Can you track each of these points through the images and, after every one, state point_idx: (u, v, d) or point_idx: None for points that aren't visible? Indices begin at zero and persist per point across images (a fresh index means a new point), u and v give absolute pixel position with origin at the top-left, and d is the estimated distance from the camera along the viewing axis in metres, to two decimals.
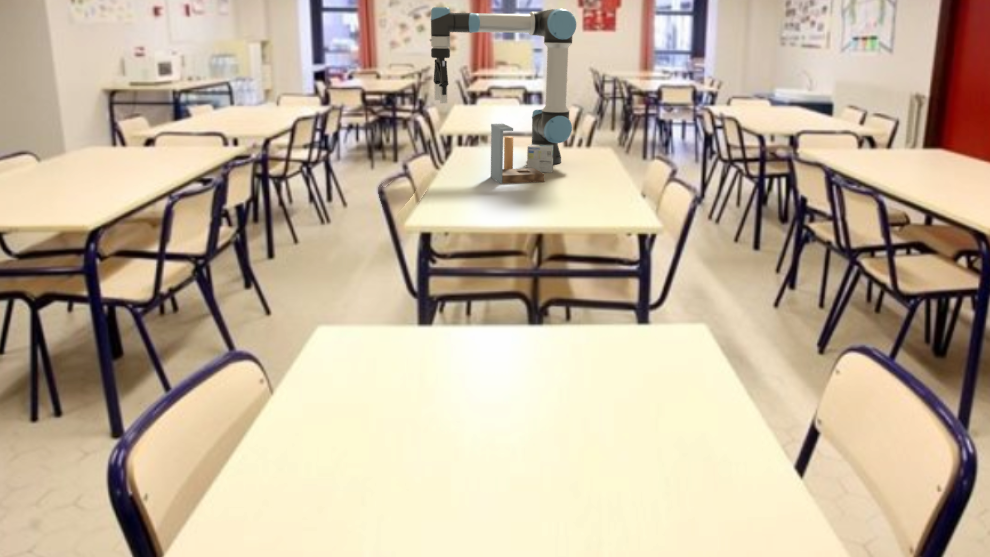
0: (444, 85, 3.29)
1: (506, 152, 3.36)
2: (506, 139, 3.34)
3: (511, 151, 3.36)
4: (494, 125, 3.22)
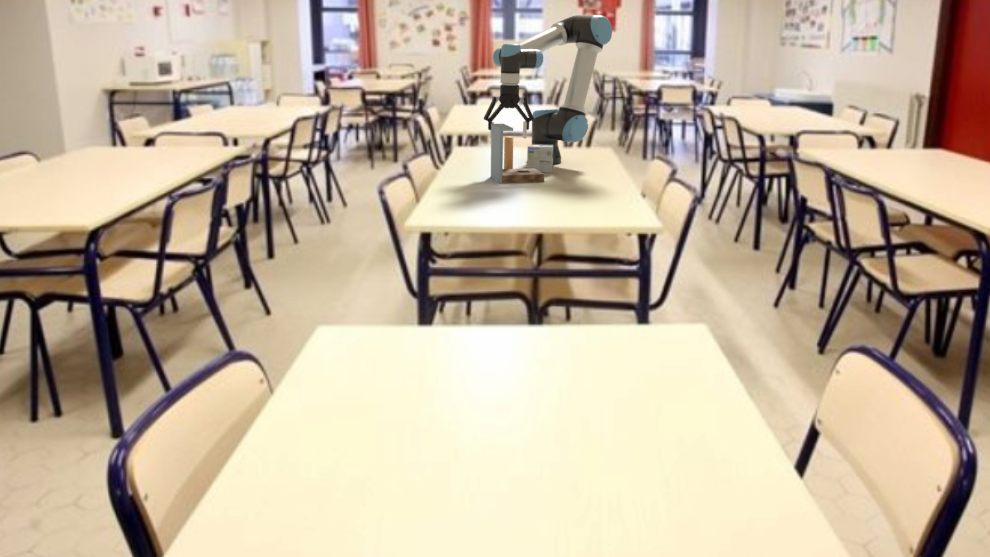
0: (486, 120, 3.31)
1: (506, 152, 3.36)
2: (506, 139, 3.34)
3: (511, 151, 3.36)
4: (494, 125, 3.22)
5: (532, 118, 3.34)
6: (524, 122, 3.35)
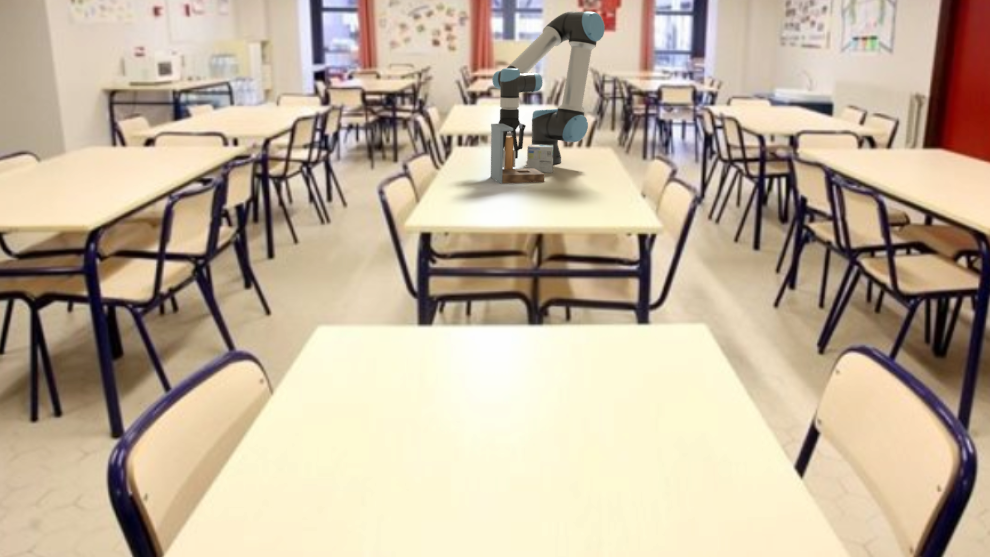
0: None
1: (506, 152, 3.36)
2: (506, 139, 3.34)
3: (511, 151, 3.36)
4: (494, 125, 3.22)
5: (521, 147, 3.37)
6: (513, 151, 3.37)
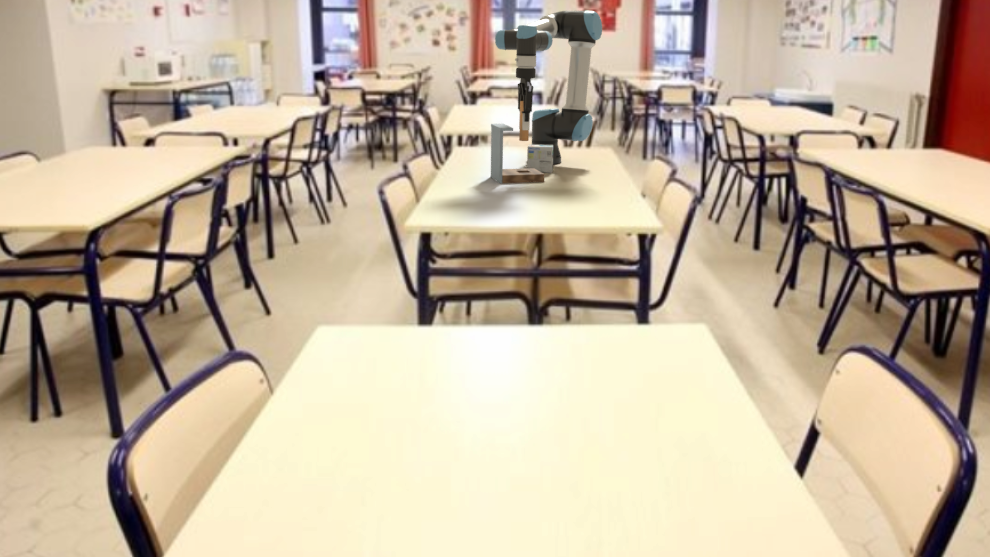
0: (527, 112, 3.17)
1: None
2: None
3: None
4: (494, 125, 3.22)
5: None
6: None
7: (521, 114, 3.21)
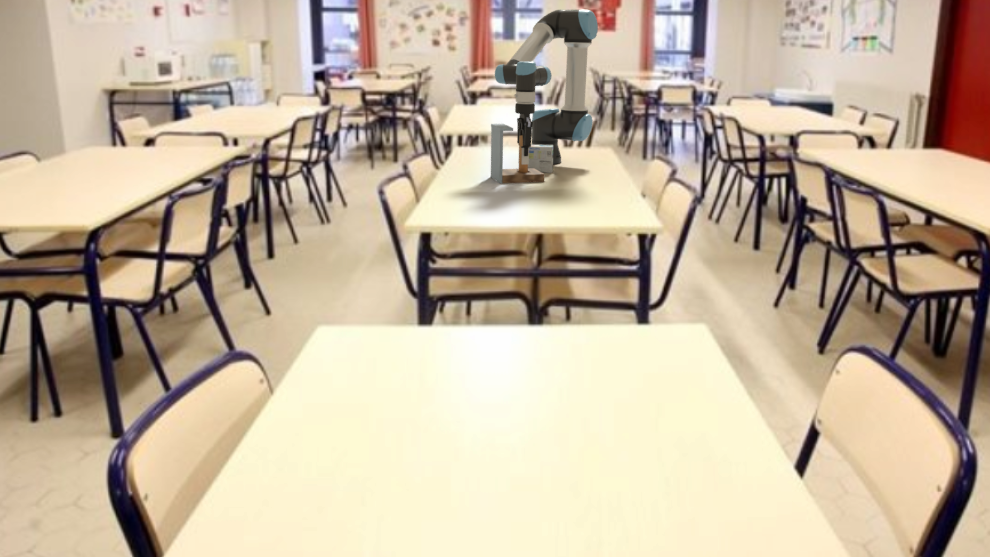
0: (526, 147, 3.21)
1: None
2: None
3: None
4: (494, 125, 3.22)
5: None
6: None
7: (520, 148, 3.25)
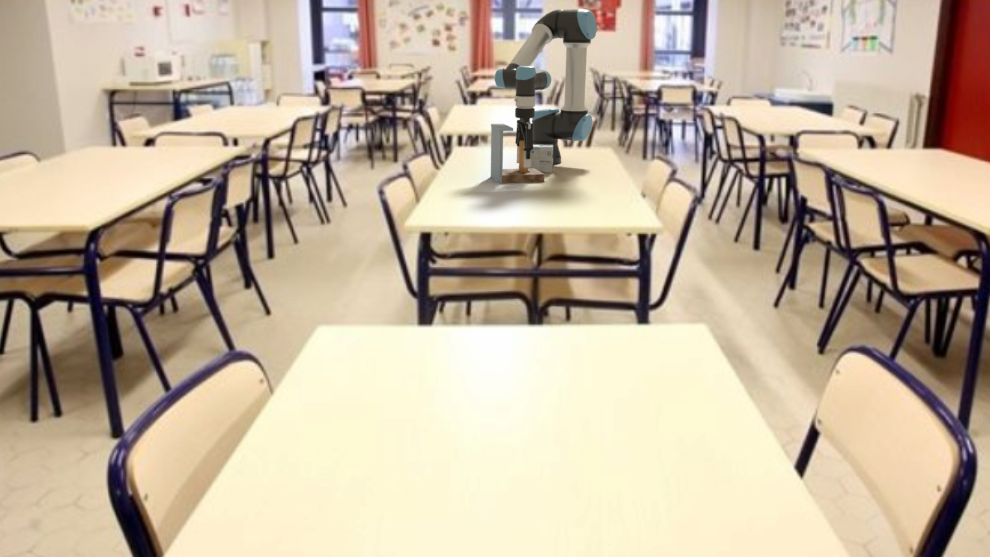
0: (529, 149, 3.19)
1: None
2: None
3: None
4: (494, 125, 3.22)
5: None
6: None
7: (520, 154, 3.25)
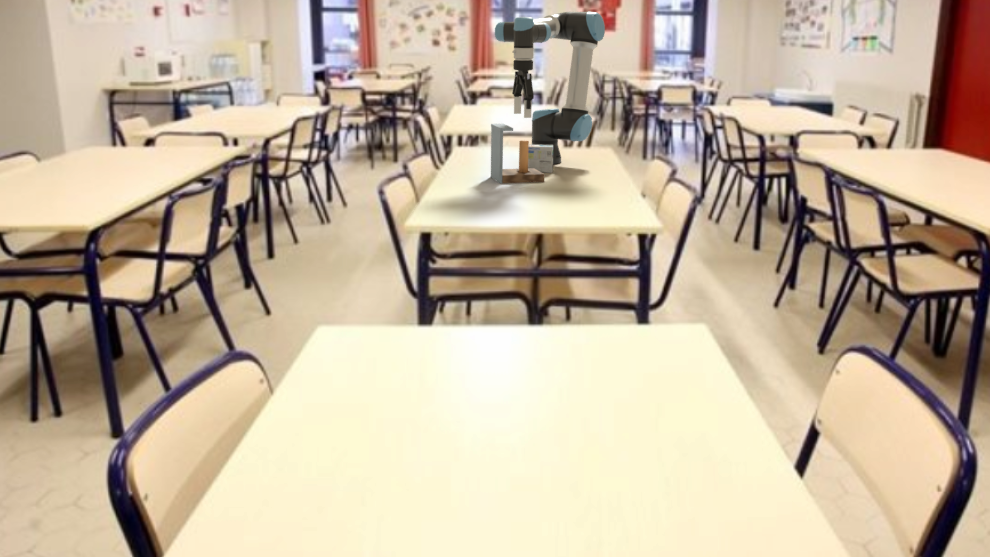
0: (529, 99, 3.14)
1: (527, 156, 3.26)
2: (527, 143, 3.24)
3: None
4: (494, 125, 3.22)
5: None
6: (519, 97, 3.29)
7: (520, 154, 3.25)
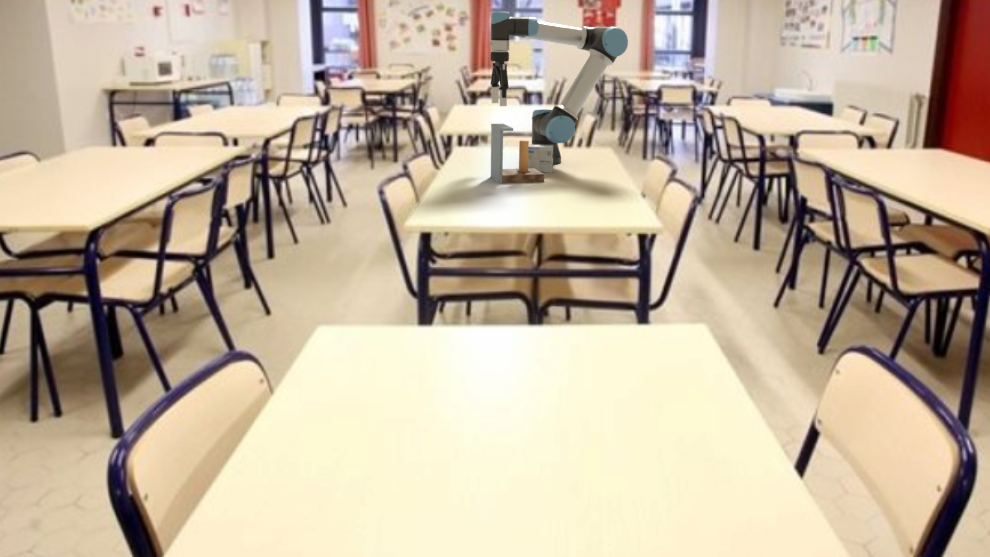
0: (504, 88, 3.33)
1: (527, 156, 3.26)
2: (527, 143, 3.24)
3: None
4: (494, 125, 3.22)
5: None
6: (496, 87, 3.48)
7: (520, 154, 3.25)
